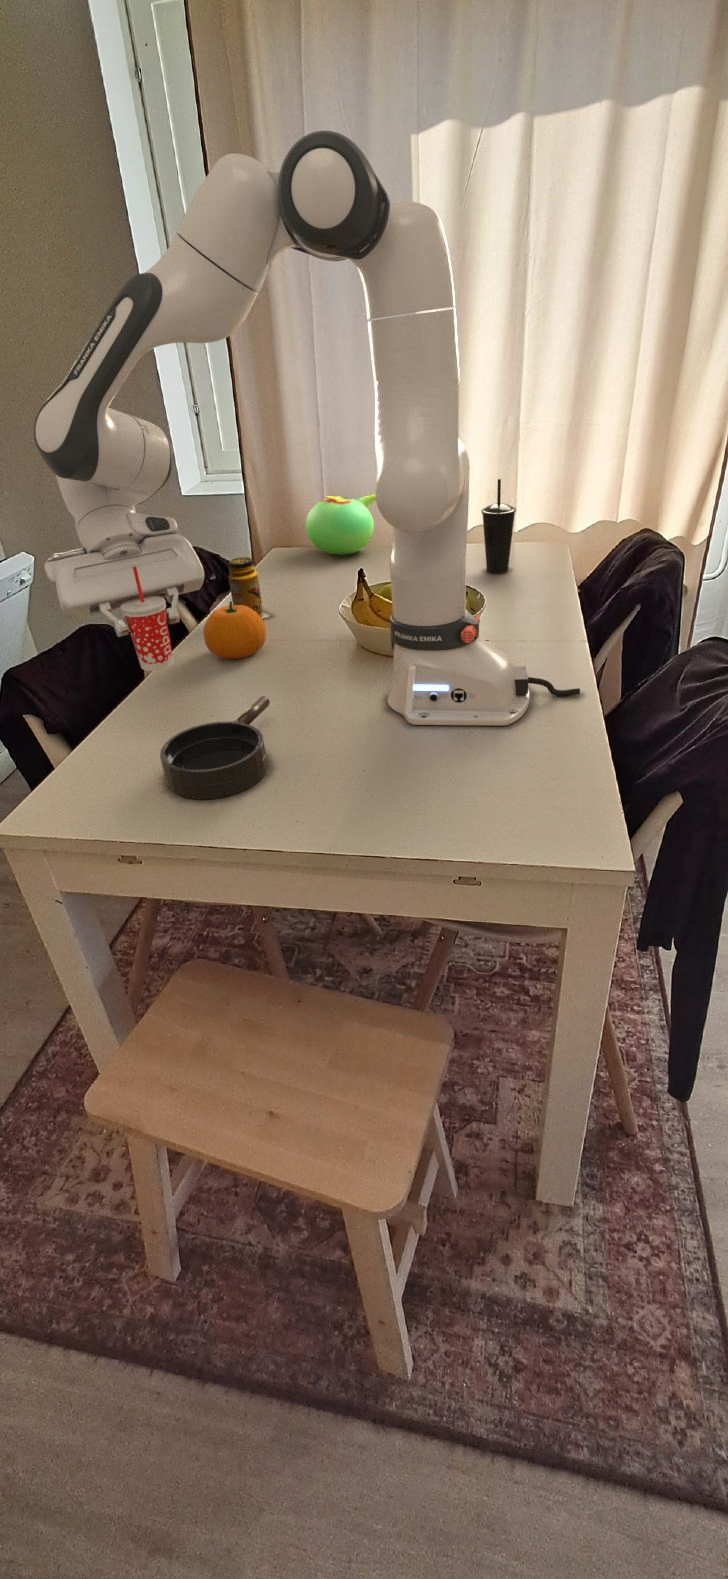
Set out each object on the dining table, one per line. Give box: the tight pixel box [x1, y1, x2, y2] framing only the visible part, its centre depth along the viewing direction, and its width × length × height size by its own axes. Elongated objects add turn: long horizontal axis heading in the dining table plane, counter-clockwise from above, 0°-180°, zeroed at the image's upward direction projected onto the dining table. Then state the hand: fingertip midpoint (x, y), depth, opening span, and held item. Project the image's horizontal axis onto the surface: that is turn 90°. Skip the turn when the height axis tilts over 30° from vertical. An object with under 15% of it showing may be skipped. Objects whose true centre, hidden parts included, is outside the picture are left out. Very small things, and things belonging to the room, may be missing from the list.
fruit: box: [202, 600, 267, 660], centre depth 144 cm, size 12×12×10 cm
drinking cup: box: [480, 478, 517, 575], centre depth 172 cm, size 8×8×20 cm
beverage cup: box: [119, 567, 174, 672], centre depth 106 cm, size 6×6×14 cm
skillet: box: [159, 721, 269, 800], centre depth 107 cm, size 14×14×4 cm
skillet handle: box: [230, 695, 271, 733], centre depth 115 cm, size 10×2×2 cm, turn 160°
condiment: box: [227, 556, 271, 620], centre depth 160 cm, size 7×8×12 cm
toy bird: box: [305, 493, 376, 556], centre depth 196 cm, size 18×17×15 cm
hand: (149, 627), depth 106 cm, fingers closed on beverage cup, 6 cm apart
